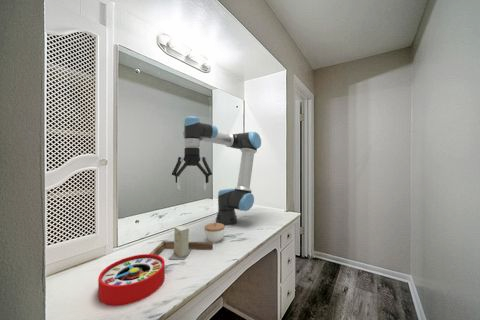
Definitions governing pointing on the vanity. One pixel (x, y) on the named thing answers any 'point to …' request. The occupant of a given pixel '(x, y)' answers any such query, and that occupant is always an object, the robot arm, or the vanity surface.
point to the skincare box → (181, 241)
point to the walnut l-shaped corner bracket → (190, 246)
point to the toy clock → (131, 279)
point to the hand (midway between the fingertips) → (192, 189)
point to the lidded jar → (214, 232)
